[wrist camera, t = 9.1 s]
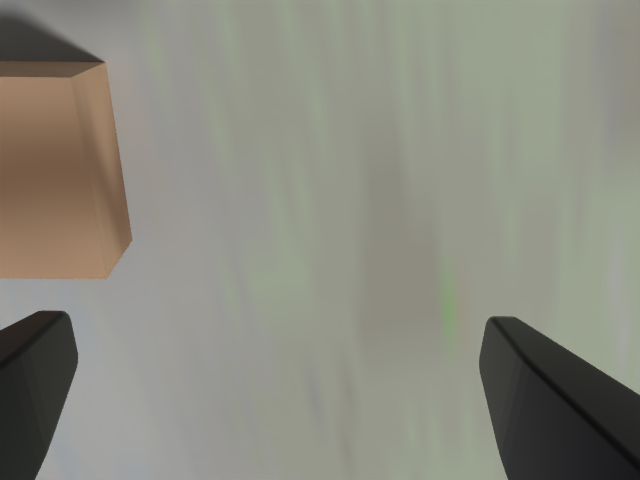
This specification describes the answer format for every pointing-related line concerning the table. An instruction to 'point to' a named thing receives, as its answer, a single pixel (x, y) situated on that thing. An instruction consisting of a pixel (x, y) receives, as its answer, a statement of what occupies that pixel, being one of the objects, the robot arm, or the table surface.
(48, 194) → the walnut block
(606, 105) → the table surface
